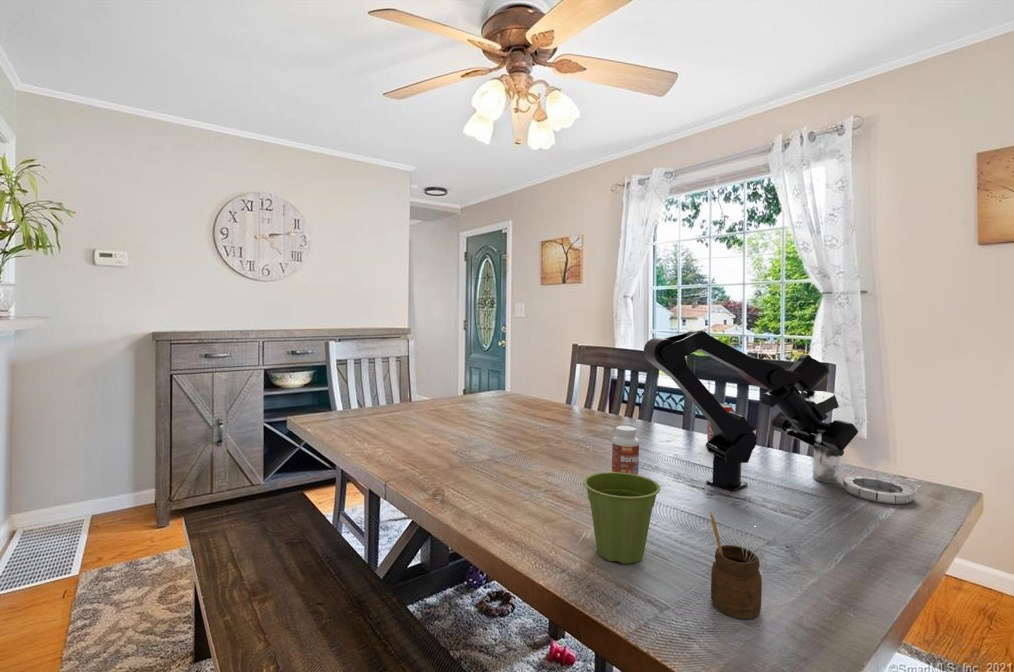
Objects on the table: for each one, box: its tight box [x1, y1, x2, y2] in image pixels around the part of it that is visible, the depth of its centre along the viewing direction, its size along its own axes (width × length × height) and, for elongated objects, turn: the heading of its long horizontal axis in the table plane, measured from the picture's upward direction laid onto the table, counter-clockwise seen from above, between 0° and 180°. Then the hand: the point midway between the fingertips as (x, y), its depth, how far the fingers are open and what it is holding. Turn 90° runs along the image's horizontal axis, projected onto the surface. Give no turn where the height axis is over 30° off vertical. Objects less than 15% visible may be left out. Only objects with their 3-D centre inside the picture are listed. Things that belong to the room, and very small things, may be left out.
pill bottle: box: [611, 425, 640, 475], centre depth 113 cm, size 6×6×11 cm
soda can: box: [706, 402, 735, 442], centre depth 139 cm, size 7×7×12 cm
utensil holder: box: [709, 511, 764, 620], centre depth 62 cm, size 6×6×12 cm
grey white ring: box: [842, 475, 914, 506], centre depth 102 cm, size 12×12×2 cm
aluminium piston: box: [812, 433, 841, 485], centre depth 111 cm, size 5×5×12 cm
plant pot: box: [582, 471, 661, 565], centre depth 76 cm, size 12×12×11 cm
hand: (831, 451), depth 111 cm, fingers closed on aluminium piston, 5 cm apart
